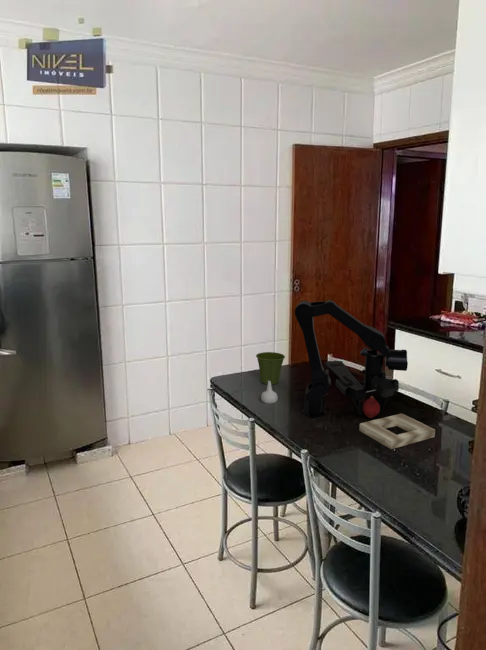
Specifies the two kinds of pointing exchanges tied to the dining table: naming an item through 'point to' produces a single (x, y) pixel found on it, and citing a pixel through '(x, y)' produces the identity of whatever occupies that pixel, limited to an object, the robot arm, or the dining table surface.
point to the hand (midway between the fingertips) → (370, 412)
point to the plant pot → (270, 366)
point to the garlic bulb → (269, 395)
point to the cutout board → (391, 440)
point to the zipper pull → (342, 375)
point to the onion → (371, 407)
